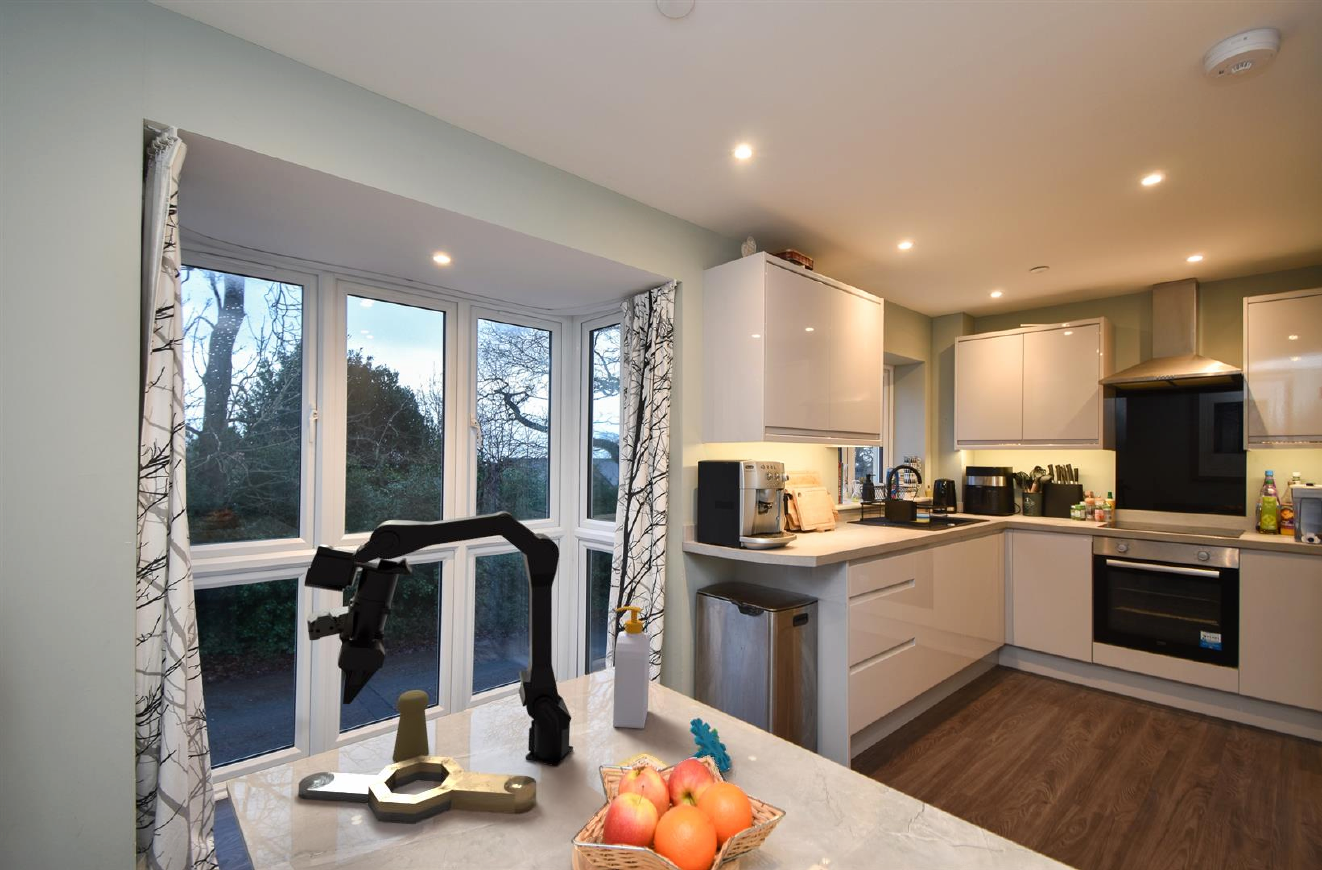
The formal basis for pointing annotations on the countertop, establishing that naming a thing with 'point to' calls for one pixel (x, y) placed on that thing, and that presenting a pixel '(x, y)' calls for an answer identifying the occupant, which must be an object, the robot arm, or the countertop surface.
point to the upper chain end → (454, 789)
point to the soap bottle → (631, 674)
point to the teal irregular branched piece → (709, 744)
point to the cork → (411, 726)
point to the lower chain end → (356, 791)
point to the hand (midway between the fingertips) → (346, 691)
